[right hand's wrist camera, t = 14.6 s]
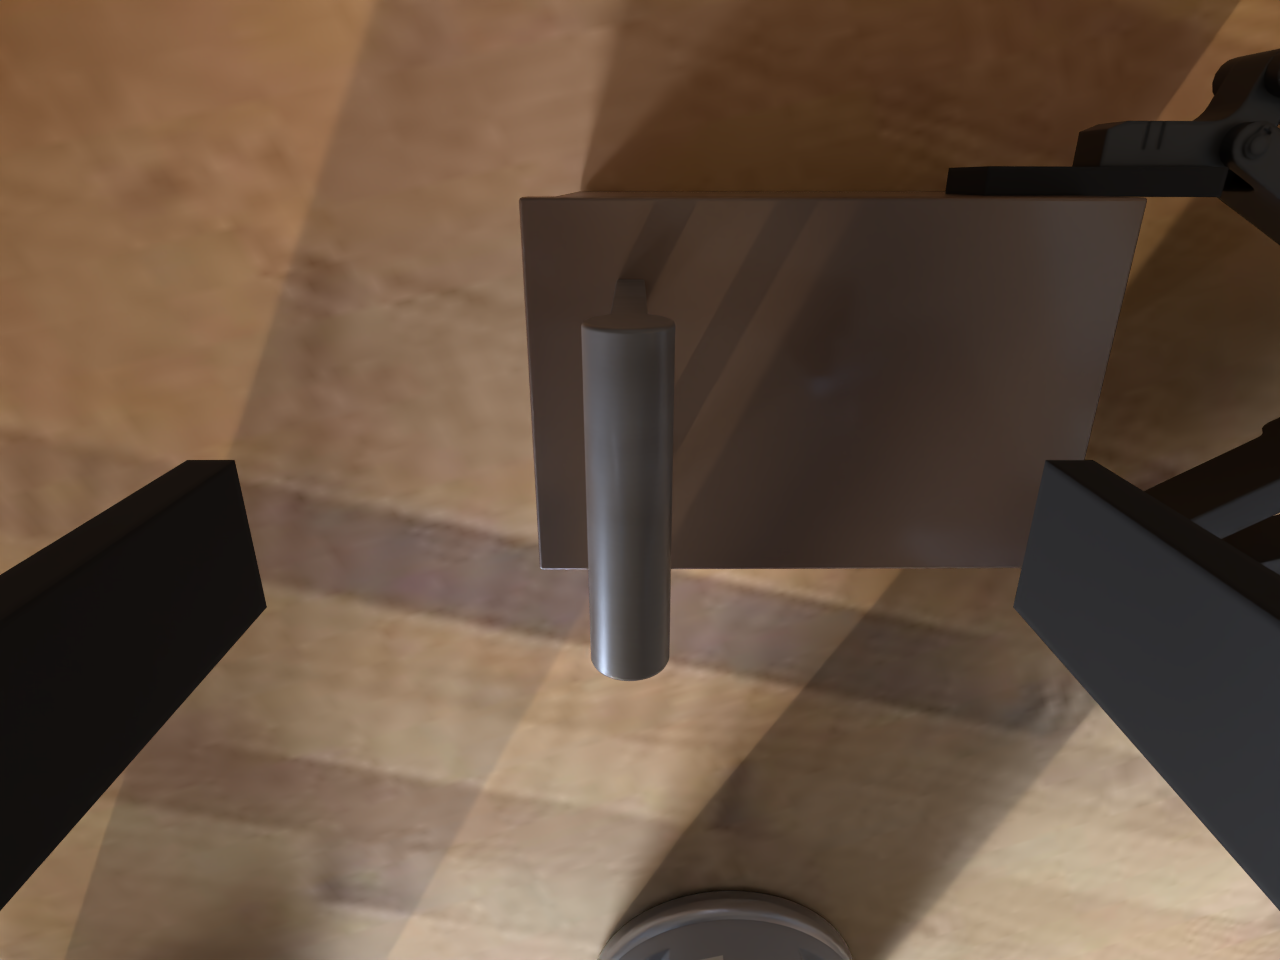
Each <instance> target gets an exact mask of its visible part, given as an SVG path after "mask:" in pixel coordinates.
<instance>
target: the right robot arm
mask: <svg viewBox="0 0 1280 960" xmlns="http://www.w3.org/2000/svg"><path fill="white" fill-rule="evenodd" d="M266 607H267V606H266V601H265V597H264V592H263V588H262V583H261V578H260V574H259V569H258V565H257V560H256V556H255V551H254V547H253V542H252V537H251V533H250V528H249V524H248V519H247V515H246V510H245V505H244V501H243V496H242V492H241V487H240V483H239V478H238V474H237V469H236V464H235V460H187V461H185V462H183V463H182V464H180V465H179V466H177V467H175V468H174V469H172V470H170V471H169V472H167V473H165V474H164V475H162V476H161V477H159V478H157V479H156V480H154V481H152V482H151V483H149V484H148V485H146V486H144V487H143V488H141V489H139V490H138V491H136V492H135V493H133V494H131V495H130V496H128V497H126V498H125V499H123V500H122V501H120V502H118V503H117V504H115V505H113V506H112V507H110V508H109V509H107V510H105V511H104V512H102V513H100V514H99V515H97V516H96V517H94V518H92V519H91V520H89V521H87V522H86V523H84V524H83V525H81V526H79V527H78V528H76V529H74V530H73V531H71V532H69V533H68V534H66V535H65V536H63V537H61V538H60V539H58V540H56V541H55V542H53V543H52V544H50V545H48V546H47V547H45V548H43V549H42V550H40V551H39V552H37V553H35V554H34V555H32V556H30V557H29V558H27V559H26V560H24V561H22V562H21V563H19V564H17V565H16V566H14V567H13V568H11V569H9V570H8V571H6V572H4V573H3V574H1V575H0V910H1V909H2V908H3V907H4V906H5V905H6V904H7V903H8V901H9V900H10V899H11V898H12V897H13V896H14V895H15V893H16V892H17V891H18V890H19V889H20V888H21V887H22V885H23V884H24V883H25V882H26V881H27V880H28V879H29V877H30V876H31V875H32V874H33V873H34V872H35V871H36V869H37V868H38V867H39V866H40V865H41V864H42V863H43V861H44V860H45V859H46V858H47V857H48V856H49V855H50V854H51V852H52V851H53V850H54V849H55V848H56V847H57V846H58V844H59V843H60V842H61V841H62V840H63V839H64V838H65V836H66V835H67V834H68V833H69V832H70V831H71V830H72V828H73V827H74V826H75V825H76V824H77V823H78V822H79V820H80V819H81V818H82V817H83V816H84V815H85V814H86V813H87V811H88V810H89V809H90V808H91V807H92V806H93V805H94V803H95V802H96V801H97V800H98V799H99V798H100V797H101V795H102V794H103V793H104V792H105V791H106V790H107V789H108V787H109V786H110V785H111V784H112V783H113V782H114V781H115V779H116V778H117V777H118V776H119V775H120V774H121V773H122V771H123V770H124V769H125V768H126V767H127V766H128V765H129V764H130V762H131V761H132V760H133V759H134V758H135V757H136V756H137V754H138V753H139V752H140V751H141V750H142V749H143V748H144V746H145V745H146V744H147V743H148V742H149V741H150V740H151V738H152V737H153V736H154V735H155V734H156V733H157V732H158V730H159V729H160V728H161V727H162V726H163V725H164V724H165V722H166V721H167V720H168V719H169V718H170V717H171V716H172V715H173V713H174V712H175V711H176V710H177V709H178V708H179V707H180V705H181V704H182V703H183V702H184V701H185V700H186V699H187V697H188V696H189V695H190V694H191V693H192V692H193V691H194V689H195V688H196V687H197V686H198V685H199V684H200V683H201V681H202V680H203V679H204V678H205V677H206V676H207V675H208V674H209V672H210V671H211V670H212V669H213V668H214V667H215V666H216V664H217V663H218V662H219V661H220V660H221V659H222V658H223V656H224V655H225V654H226V653H227V652H228V651H229V650H230V648H231V647H232V646H233V645H234V644H235V643H236V642H237V640H238V639H239V638H240V637H241V636H242V635H243V634H244V632H245V631H246V630H247V629H248V628H249V627H250V626H251V625H252V623H253V622H254V621H255V620H256V619H257V618H258V617H259V615H260V614H261V613H262V612H263V611H264V610H265V609H266ZM1013 607H1014V609H1015V610H1016V611H1017V612H1018V613H1019V614H1020V615H1021V617H1022V618H1023V619H1024V620H1025V621H1026V622H1027V623H1028V625H1029V626H1030V627H1031V628H1032V629H1033V630H1034V631H1035V632H1036V634H1037V635H1038V636H1039V637H1040V638H1041V639H1042V640H1043V642H1044V643H1045V644H1046V645H1047V646H1048V647H1049V648H1050V650H1051V651H1052V652H1053V653H1054V654H1055V655H1056V656H1057V658H1058V659H1059V660H1060V661H1061V662H1062V663H1063V664H1064V666H1065V667H1066V668H1067V669H1068V670H1069V671H1070V672H1071V674H1072V675H1073V676H1074V677H1075V678H1076V679H1077V680H1078V681H1079V683H1080V684H1081V685H1082V686H1083V687H1084V688H1085V689H1086V691H1087V692H1088V693H1089V694H1090V695H1091V696H1092V697H1093V699H1094V700H1095V701H1096V702H1097V703H1098V704H1099V705H1100V707H1101V708H1102V709H1103V710H1104V711H1105V712H1106V713H1107V715H1108V716H1109V717H1110V718H1111V719H1112V720H1113V721H1114V723H1115V724H1116V725H1117V726H1118V727H1119V728H1120V729H1121V730H1122V732H1123V733H1124V734H1125V735H1126V736H1127V737H1128V738H1129V740H1130V741H1131V742H1132V743H1133V744H1134V745H1135V746H1136V748H1137V749H1138V750H1139V751H1140V752H1141V753H1142V754H1143V756H1144V757H1145V758H1146V759H1147V760H1148V761H1149V762H1150V764H1151V765H1152V766H1153V767H1154V768H1155V769H1156V770H1157V771H1158V773H1159V774H1160V775H1161V776H1162V777H1163V778H1164V779H1165V781H1166V782H1167V783H1168V784H1169V785H1170V786H1171V787H1172V789H1173V790H1174V791H1175V792H1176V793H1177V794H1178V795H1179V797H1180V798H1181V799H1182V800H1183V801H1184V802H1185V803H1186V805H1187V806H1188V807H1189V808H1190V809H1191V810H1192V811H1193V813H1194V814H1195V815H1196V816H1197V817H1198V818H1199V819H1200V820H1201V822H1202V823H1203V824H1204V825H1205V826H1206V827H1207V828H1208V830H1209V831H1210V832H1211V833H1212V834H1213V835H1214V836H1215V838H1216V839H1217V840H1218V841H1219V842H1220V843H1221V844H1222V846H1223V847H1224V848H1225V849H1226V850H1227V851H1228V852H1229V854H1230V855H1231V856H1232V857H1233V858H1234V859H1235V860H1236V861H1237V863H1238V864H1239V865H1240V866H1241V867H1242V868H1243V869H1244V871H1245V872H1246V873H1247V874H1248V875H1249V876H1250V877H1251V879H1252V880H1253V881H1254V882H1255V883H1256V884H1257V885H1258V887H1259V888H1260V889H1261V890H1262V891H1263V892H1264V893H1265V895H1266V896H1267V897H1268V898H1269V899H1270V900H1271V901H1272V903H1273V904H1274V905H1275V906H1276V907H1277V908H1278V909H1279V910H1280V575H1279V574H1277V573H1276V572H1274V571H1272V570H1271V569H1269V568H1267V567H1266V566H1264V565H1263V564H1261V563H1259V562H1258V561H1256V560H1254V559H1253V558H1251V557H1250V556H1248V555H1246V554H1245V553H1243V552H1241V551H1240V550H1238V549H1237V548H1235V547H1233V546H1232V545H1230V544H1228V543H1227V542H1225V541H1224V540H1222V539H1220V538H1219V537H1217V536H1215V535H1214V534H1212V533H1211V532H1209V531H1207V530H1206V529H1204V528H1202V527H1201V526H1199V525H1197V524H1196V523H1194V522H1193V521H1191V520H1189V519H1188V518H1186V517H1184V516H1183V515H1181V514H1180V513H1178V512H1176V511H1175V510H1173V509H1171V508H1170V507H1168V506H1167V505H1165V504H1163V503H1162V502H1160V501H1158V500H1157V499H1155V498H1154V497H1152V496H1150V495H1149V494H1147V493H1145V492H1144V491H1142V490H1141V489H1139V488H1137V487H1136V486H1134V485H1132V484H1131V483H1129V482H1128V481H1126V480H1124V479H1123V478H1121V477H1119V476H1118V475H1116V474H1115V473H1113V472H1111V471H1110V470H1108V469H1106V468H1105V467H1103V466H1101V465H1100V464H1098V463H1097V462H1095V461H1093V460H1045V464H1044V469H1043V474H1042V478H1041V483H1040V487H1039V492H1038V496H1037V501H1036V505H1035V510H1034V515H1033V519H1032V524H1031V528H1030V533H1029V537H1028V542H1027V547H1026V551H1025V556H1024V560H1023V565H1022V569H1021V574H1020V578H1019V583H1018V588H1017V592H1016V597H1015V601H1014V606H1013Z"/></svg>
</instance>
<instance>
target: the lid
mask: <svg viewBox="0 0 1280 960" xmlns="http://www.w3.org/2000/svg"><path fill="white" fill-rule="evenodd" d="M1146 202H1147V199H1145V198H1140V197H522V198H520V200H519V208H520V225H521V243H522V260H523V278H524V295H525V313H526V330H527V348H528V365H529V383H530V400H531V418H532V435H533V453H534V470H535V488H536V505H537V523H538V540H539V558H540V568H541V569H588V574H589V608H590V643H591V660H592V663H593V665H594V666H595V668H596V669H597V670H598V671H599V672H600V673H602V674H603V675H605V676H607V677H610V678H613V679H617V680H623V681H637V680H643V679H647V678H650V677H652V676H654V675H656V674H658V673H659V672H661V671H662V670H663V669H664V667H665V666H666V664H667V662H668V660H669V644H670V590H671V569H836V568H1022V565H1023V560H1024V556H1025V551H1026V547H1027V542H1028V537H1029V533H1030V528H1031V524H1032V519H1033V515H1034V510H1035V505H1036V501H1037V496H1038V492H1039V487H1040V483H1041V478H1042V474H1043V469H1044V464H1045V460H1084V459H1085V455H1086V451H1087V447H1088V442H1089V438H1090V434H1091V430H1092V426H1093V422H1094V418H1095V413H1096V409H1097V405H1098V401H1099V397H1100V393H1101V389H1102V384H1103V380H1104V376H1105V372H1106V368H1107V364H1108V360H1109V356H1110V351H1111V347H1112V343H1113V339H1114V335H1115V331H1116V327H1117V322H1118V318H1119V314H1120V310H1121V306H1122V302H1123V298H1124V293H1125V289H1126V285H1127V281H1128V277H1129V273H1130V269H1131V265H1132V260H1133V256H1134V252H1135V248H1136V244H1137V240H1138V236H1139V231H1140V227H1141V223H1142V219H1143V215H1144V211H1145V207H1146Z"/></svg>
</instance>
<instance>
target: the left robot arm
mask: <svg viewBox="0 0 1280 960" xmlns="http://www.w3.org/2000/svg"><path fill="white" fill-rule="evenodd" d="M1212 87H1213V94H1214V97H1213V99H1212V101H1211V102H1210V104H1209V106H1208V107H1207V108H1206V110H1205V111H1204V112H1203V113H1202V114H1201V115H1200V116H1199V117H1198V118H1196V119H1195V120H1193V121H1124V122H1116V123H1107V124H1099V125H1096V126H1094V127H1091V128H1089V129H1086V130H1084V131H1081V132H1079V137H1078V142H1077V147H1076V152H1075V156H1074V161H1073V166H1072V167H1022V166H986V167H962V168H949V172H948V178H947V185H946V192H945V194H960V195H983V196H1110V197H1217V198H1219V199H1220V200H1221V201H1223V202H1224V203H1225V204H1227V205H1228V206H1229V207H1231V208H1232V209H1233V210H1234V211H1236V212H1237V213H1238V214H1240V215H1241V216H1242V217H1244V218H1245V219H1246V220H1248V221H1249V222H1250V223H1251V224H1253V225H1254V226H1255V227H1257V228H1258V229H1259V230H1261V231H1262V232H1263V233H1265V234H1266V235H1267V236H1268V237H1270V238H1271V239H1272V240H1274V241H1275V242H1276V243H1278V244H1279V245H1280V129H1279V128H1278V127H1277V126H1278V125H1279V124H1280V49H1276V50H1271V51H1266V52H1261V53H1256V54H1251V55H1246V56H1241V57H1237V58H1234V59H1231V60H1229V61H1227V62H1226V63H1225V64H1223V65H1222V66H1221V67H1220V69H1219V70H1218V71H1217V73H1216V74H1215V77H1214V80H1213V83H1212ZM1262 431H1263V434H1262V435H1261V436H1259V437H1258V438H1256V439H1254V440H1251V441H1249V442H1247V443H1245V444H1243V445H1241V446H1239V447H1237V448H1234V449H1232V450H1230V451H1228V452H1226V453H1224V454H1222V455H1220V456H1218V457H1215V458H1213V459H1211V460H1209V461H1207V462H1205V463H1203V464H1201V465H1199V466H1196V467H1194V468H1192V469H1190V470H1188V471H1186V472H1184V473H1182V474H1179V475H1177V476H1175V477H1173V478H1171V479H1169V480H1167V481H1165V482H1163V483H1160V484H1158V485H1156V486H1154V487H1152V488H1150V489H1148V490H1146V491H1144V492H1145V493H1147V494H1149V495H1150V496H1152V497H1154V498H1155V499H1157V500H1158V501H1160V502H1162V503H1163V504H1165V505H1167V506H1168V507H1170V508H1171V509H1173V510H1175V511H1176V512H1178V513H1180V514H1181V515H1183V516H1184V517H1186V518H1188V519H1189V520H1191V521H1193V522H1194V523H1196V524H1197V525H1199V526H1201V527H1202V528H1204V529H1206V530H1207V531H1209V532H1211V533H1212V534H1214V535H1215V536H1217V537H1219V538H1220V539H1222V540H1224V541H1225V542H1227V543H1228V544H1230V545H1232V546H1233V547H1235V548H1237V549H1238V550H1240V551H1241V552H1243V553H1245V554H1246V555H1248V556H1250V557H1251V558H1253V559H1254V560H1256V561H1258V562H1259V563H1261V564H1263V565H1264V566H1266V567H1267V568H1269V569H1271V570H1272V571H1274V572H1276V573H1277V574H1279V575H1280V514H1278V513H1280V417H1279V418H1277V419H1275V420H1273V421H1271V422H1269V423H1267V424H1266V425H1264V426H1263V428H1262ZM1276 514H1278V515H1276ZM1273 515H1274V516H1273ZM598 960H853V959H852V956H851V953H850V951H849V948H848V946H847V945H846V943H845V941H844V939H843V938H842V937H841V935H840V934H839V933H838V932H837V930H836V929H835V928H834V927H833V926H832V925H831V924H830V923H828V922H827V921H826V920H825V919H824V918H822V917H821V916H819V915H818V914H816V913H815V912H813V911H811V910H810V909H808V908H806V907H804V906H802V905H799V904H797V903H795V902H792V901H789V900H786V899H783V898H780V897H776V896H772V895H768V894H762V893H756V892H746V891H715V892H706V893H699V894H694V895H688V896H685V897H681V898H677V899H674V900H671V901H668V902H665V903H662V904H660V905H658V906H655V907H653V908H651V909H649V910H647V911H645V912H643V913H641V914H640V915H638V916H637V917H635V918H634V919H632V920H631V921H629V922H628V923H627V924H625V925H624V926H623V927H622V928H621V929H620V930H619V931H617V932H616V933H615V934H614V935H613V937H612V938H611V939H610V940H609V941H608V943H607V944H606V945H605V947H604V949H603V950H602V952H601V954H600V956H599V958H598Z"/></svg>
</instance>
